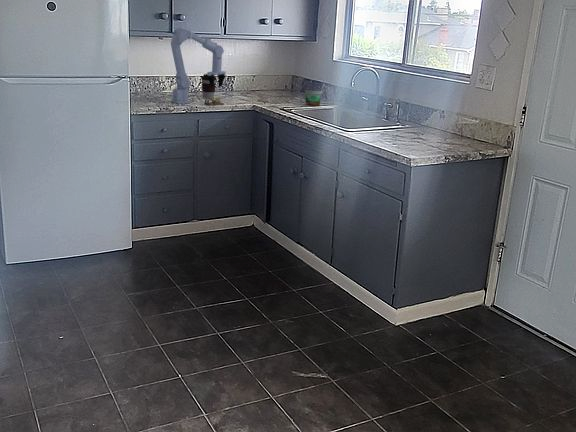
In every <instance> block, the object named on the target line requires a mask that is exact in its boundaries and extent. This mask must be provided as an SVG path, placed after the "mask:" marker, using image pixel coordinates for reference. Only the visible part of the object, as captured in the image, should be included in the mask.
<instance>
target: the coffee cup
mask: <svg viewBox="0 0 576 432" xmlns="http://www.w3.org/2000/svg"><path fill="white" fill-rule="evenodd" d="M213 76H215V75H213ZM200 79H201V92H202V98H203V99H207V100H210V99H211V100H212V98H215V91H216V84H217V83H216V81H217V80H218V77H216V76H215V80H214V87H210V83H209V80H208V78H207V73H205V74H203V75H201V78H200Z"/></svg>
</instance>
